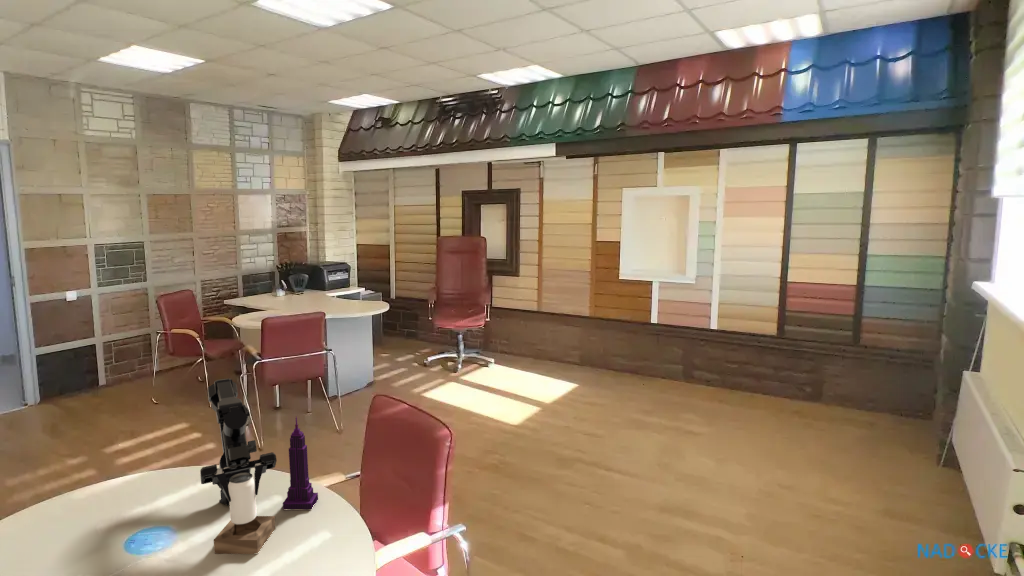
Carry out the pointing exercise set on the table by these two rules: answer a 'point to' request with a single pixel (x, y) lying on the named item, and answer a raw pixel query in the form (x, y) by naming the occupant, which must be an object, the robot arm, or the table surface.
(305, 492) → the building model
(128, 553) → the table surface
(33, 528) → the table surface
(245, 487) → the can
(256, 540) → the socket block
